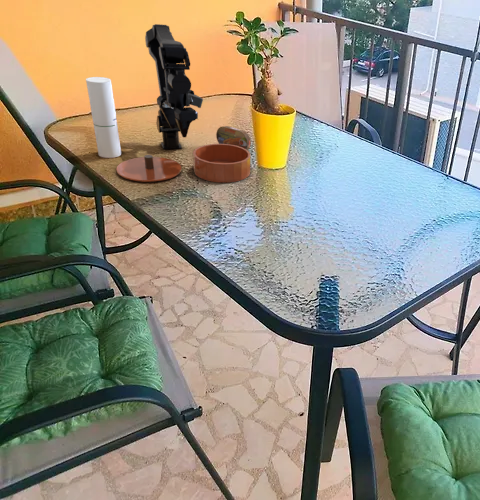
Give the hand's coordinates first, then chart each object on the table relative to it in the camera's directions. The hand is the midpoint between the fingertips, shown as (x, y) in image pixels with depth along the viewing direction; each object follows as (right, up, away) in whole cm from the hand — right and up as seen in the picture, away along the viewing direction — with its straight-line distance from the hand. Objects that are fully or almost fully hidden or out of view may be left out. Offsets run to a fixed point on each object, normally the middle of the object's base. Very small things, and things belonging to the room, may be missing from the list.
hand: (178, 132), depth 157 cm
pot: (+14, -12, +4) cm, 19 cm away
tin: (+13, -1, +23) cm, 26 cm away
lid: (-8, -13, -3) cm, 16 cm away
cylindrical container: (-26, -6, +5) cm, 27 cm away
